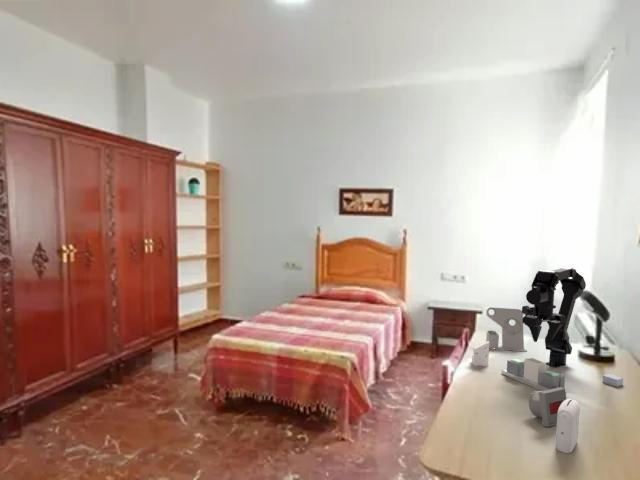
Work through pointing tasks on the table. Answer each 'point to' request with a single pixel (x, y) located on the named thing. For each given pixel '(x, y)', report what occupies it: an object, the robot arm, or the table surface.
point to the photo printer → (567, 426)
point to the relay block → (612, 380)
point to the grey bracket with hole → (507, 330)
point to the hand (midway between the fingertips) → (543, 340)
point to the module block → (534, 369)
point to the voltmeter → (547, 404)
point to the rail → (547, 380)
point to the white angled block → (481, 354)
